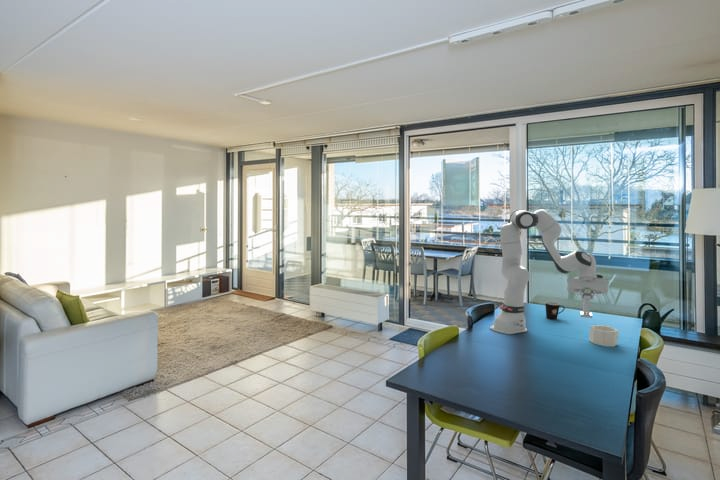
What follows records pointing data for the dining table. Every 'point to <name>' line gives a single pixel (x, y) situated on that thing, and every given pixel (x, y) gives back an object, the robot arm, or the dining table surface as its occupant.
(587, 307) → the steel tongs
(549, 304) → the coffee mug
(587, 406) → the dining table surface
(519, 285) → the robot arm
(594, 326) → the round wooden bowl
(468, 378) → the dining table surface
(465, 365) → the dining table surface
